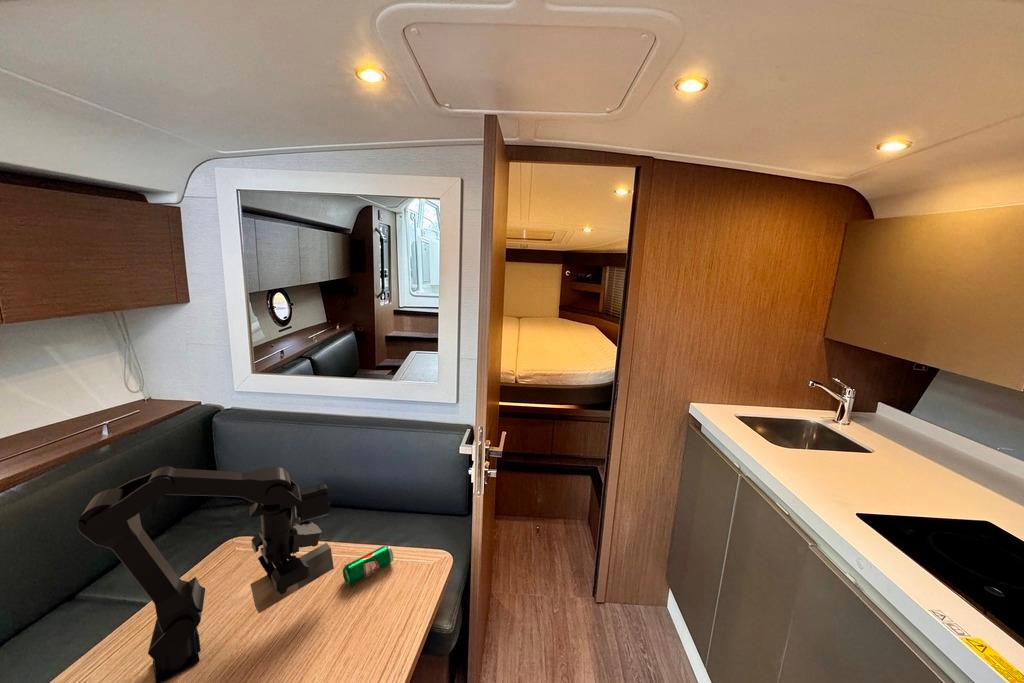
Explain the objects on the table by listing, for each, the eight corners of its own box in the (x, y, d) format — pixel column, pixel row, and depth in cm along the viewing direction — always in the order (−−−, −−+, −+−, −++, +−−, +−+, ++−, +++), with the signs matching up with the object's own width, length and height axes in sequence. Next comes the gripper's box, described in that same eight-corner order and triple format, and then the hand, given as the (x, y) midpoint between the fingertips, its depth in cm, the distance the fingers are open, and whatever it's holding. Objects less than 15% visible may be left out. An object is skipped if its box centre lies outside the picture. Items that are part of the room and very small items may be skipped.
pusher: (258, 613, 82) (253, 590, 81) (255, 606, 84) (250, 584, 82) (333, 568, 93) (330, 547, 92) (329, 563, 95) (326, 542, 94)
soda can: (350, 574, 95) (394, 550, 104) (341, 562, 98) (385, 540, 107) (350, 591, 96) (394, 566, 105) (341, 578, 100) (385, 555, 108)
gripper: (333, 530, 83) (335, 593, 86) (301, 494, 96) (304, 551, 98) (275, 555, 75) (279, 624, 78) (248, 513, 87) (253, 574, 90)
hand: (281, 589), depth 86 cm, fingers closed on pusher, 2 cm apart
